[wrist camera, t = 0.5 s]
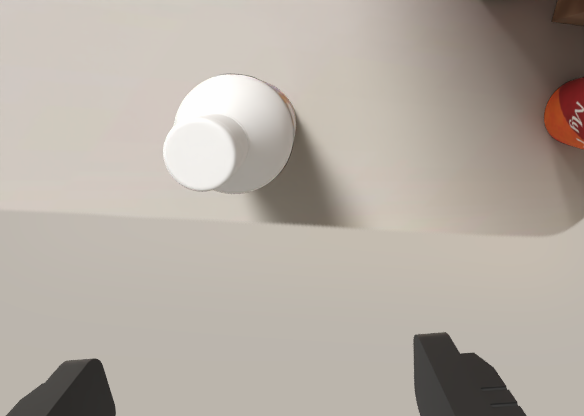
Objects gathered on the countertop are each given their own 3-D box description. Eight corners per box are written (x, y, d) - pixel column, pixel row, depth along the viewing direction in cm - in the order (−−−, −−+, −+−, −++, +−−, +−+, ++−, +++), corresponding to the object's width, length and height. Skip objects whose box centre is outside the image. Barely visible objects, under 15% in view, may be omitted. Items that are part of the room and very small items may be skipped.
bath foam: (294, 163, 35) (285, 245, 16) (218, 159, 35) (116, 235, 16) (298, 83, 33) (293, 65, 14) (218, 79, 33) (102, 55, 14)
